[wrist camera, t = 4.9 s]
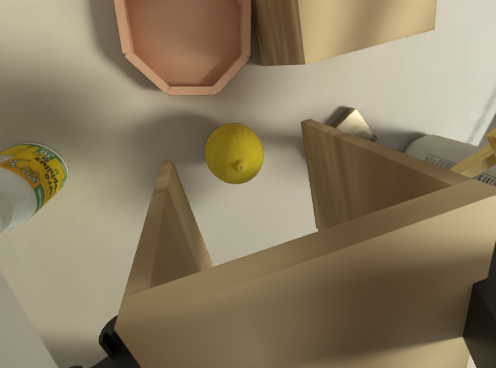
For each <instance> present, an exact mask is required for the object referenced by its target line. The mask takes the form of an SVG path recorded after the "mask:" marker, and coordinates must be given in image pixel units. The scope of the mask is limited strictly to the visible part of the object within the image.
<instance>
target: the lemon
mask: <svg viewBox="0 0 496 368" xmlns="http://www.w3.org/2000/svg"><path fill="white" fill-rule="evenodd" d="M263 157H264V153H263V147H262V144H261V142H260V139H259V138H258V136H257V135H256V134H255V133H254V132H253V131H252V130H251V129H249V128H248V127H246V126H244V125H241V124H236V123H230V124H225V125H222V126H220V127H218V128H217V129H215V130H214V131H213V132H212V134H211V135H210V136H209V138H208V140H207V142H206V146H205V158H206V162H207V164H208V167H209V169H210V170H211V171H212V173H213V174H214V175H215V176H216V177H218V178H219V179H220V180H222V181H224V182H226V183H230V184H242V183H245V182H248V181H249V180H251V179H253V178H254V177H255V176H256V175H257V173H258V172H259V170H260V169H261V166H262V164H263Z"/></svg>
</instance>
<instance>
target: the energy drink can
mask: <svg viewBox="0 0 496 368" xmlns="http://www.w3.org/2000/svg"><path fill="white" fill-rule="evenodd" d="M480 149H482V148H481V147H478V146H474V145H470V144H467V143H463V142H459V141H456V140H452V139H448V138H444V137H441V136H437V135H427V136H424V137H421V138H418V139H416V140H414V141H413V142H412V143H410V144H409V145H408V147H407V148H406V150H405V151H404V154H407V155H410V156H412V157H415V158H418V159H420V160H423V161H426V162H429V163H431V164H434V165H437V166H440V167H442V168H445V169H448V170H449V169H450V168H452V167H453V166H455V165H457V164H458V163H460V162H461V161H463V160H464V159H466V158H468V157H469V156H471V155H472V154H474V153H476V152H477V151H479V150H480ZM472 179H475V180H478V181H481V182H483V183H486V184H489V185H492V186H494V187H496V165H494V166H492V167H491V168H489V169H487V170H485V171H484V172H482V173H480V174H479V175H477V176H475V177H474V178H472Z"/></svg>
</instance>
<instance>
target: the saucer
mask: <svg viewBox="0 0 496 368" xmlns="http://www.w3.org/2000/svg"><path fill="white" fill-rule="evenodd" d="M114 5H115V11H116V17H117V23H118V29H119V35H120V41H121V47H122V53H124V54H126V55H125V56H124V57H126V58H127V59H128V60H129V61H130V62H131V63H132V64H133V65H134V66H135V67H137V68H138V69H139V70H140V71H141V72H142V73H143V74H144V75H145V76H146V77H148V78H149V79H150V80H151V81H152V82H153V83H154V84H155V85H156V86H158V87H159V88H160V89H161V90H162V91H163V92H164V93H165V94H166V93H167V92H168V94H169V95H215V92H216V93H219V92H220V91H221V90H222V88H223V87H224V86H225V85H226V84H227V83H228V82H229V81H230V80H231V79H232V77H233V76H234V75H235V74H236V73H237V72H238V71H239V70H240V69H241V68H242V66H243V65H244V64H245V63H246V62H247V61H248V60H249V58H248V57H249V56H250V47H251V0H114Z"/></svg>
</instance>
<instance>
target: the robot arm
mask: <svg viewBox="0 0 496 368" xmlns="http://www.w3.org/2000/svg"><path fill="white" fill-rule="evenodd" d="M117 317H118V315H117V316H115V317H114V318H113V319H111V320H110V321H109V322H108V323H107V324H106V326H105V327H104V328H103V329H102V331H101V334H100V336H99V344H100V345H101V347H102V348H103V349H104V351H105V352H106V353H107V354H108V356H107V357H106V358H105V359H103V360H102V361H100V362H99V363H97V364H96V365H94V366H93V367H91V368H141V367H140V365H139V364H138V362H137V361H136V359H135V358H134V357H133V355H132V354H131V352H130V351H129V350H128V348H127V347H126V345H125V344H124V343H123V341H122V340H121V338H120V337H119V335H118V334H117V333H116V331H115V330H114V327H115V324H116V320H117ZM463 339H464V341H465V344H466V346H467V348H468V350H469V352H470V354H471V356H472V359H473V361H474V363H475V365H476V367H477V368H496V241H495V246H494V250H493V254H492V259H491V263H490V268H489V272H488V276H487V278H486V279H483V280H481V281H478V282H476V283H473V287H472V292H471V297H470V302H469V307H468V312H467V317H466V322H465V327H464V332H463ZM70 368H83V367H82V366H72V367H70Z"/></svg>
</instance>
